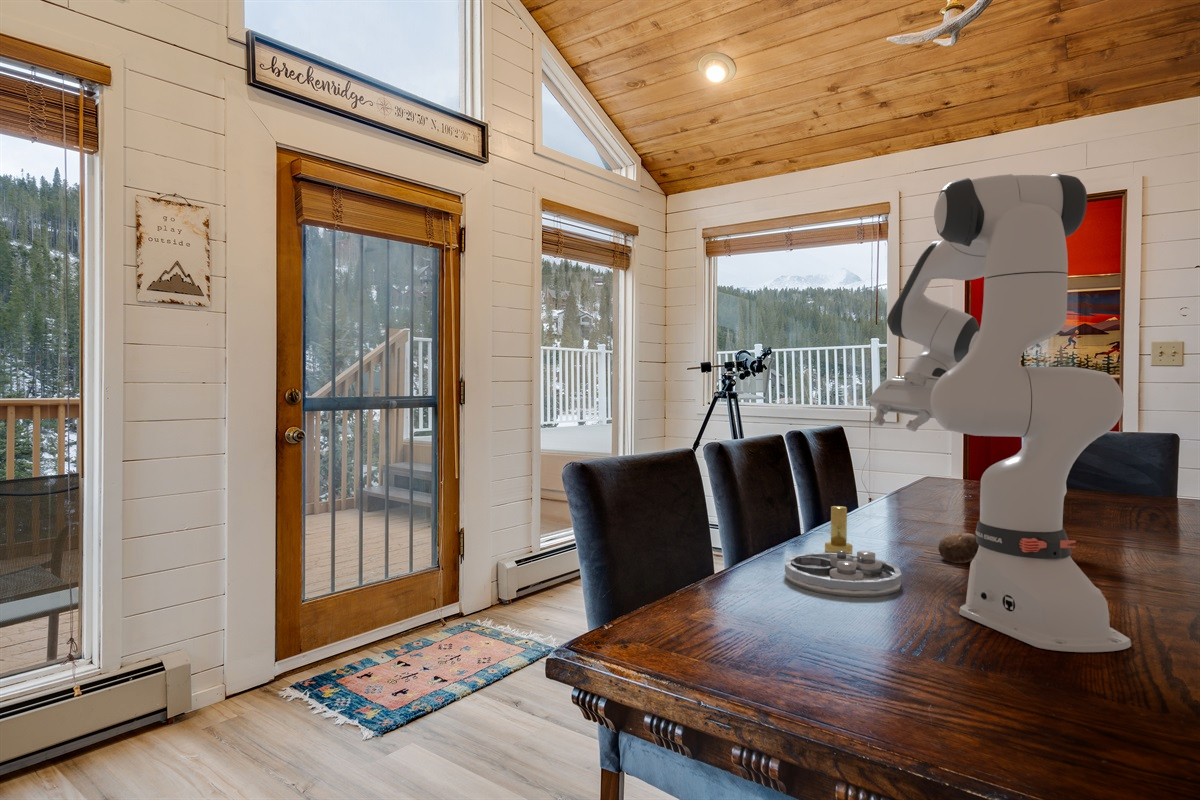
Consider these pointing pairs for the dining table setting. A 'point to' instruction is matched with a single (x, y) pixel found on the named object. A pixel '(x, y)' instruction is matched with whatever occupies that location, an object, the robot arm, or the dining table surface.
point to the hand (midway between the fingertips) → (893, 426)
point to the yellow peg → (838, 531)
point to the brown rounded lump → (958, 547)
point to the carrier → (843, 574)
